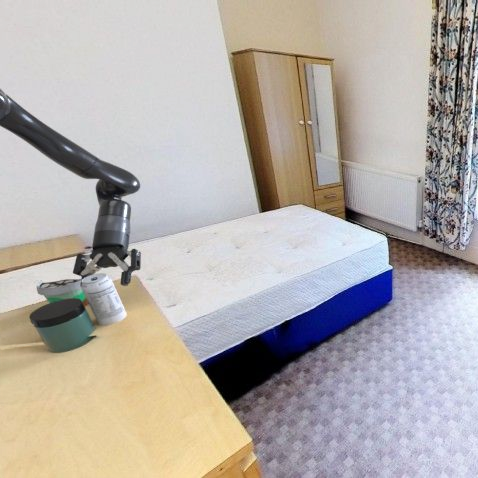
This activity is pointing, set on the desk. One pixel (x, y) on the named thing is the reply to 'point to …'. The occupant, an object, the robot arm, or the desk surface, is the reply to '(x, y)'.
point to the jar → (68, 333)
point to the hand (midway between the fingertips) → (105, 287)
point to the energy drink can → (103, 299)
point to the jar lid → (57, 312)
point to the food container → (62, 290)
